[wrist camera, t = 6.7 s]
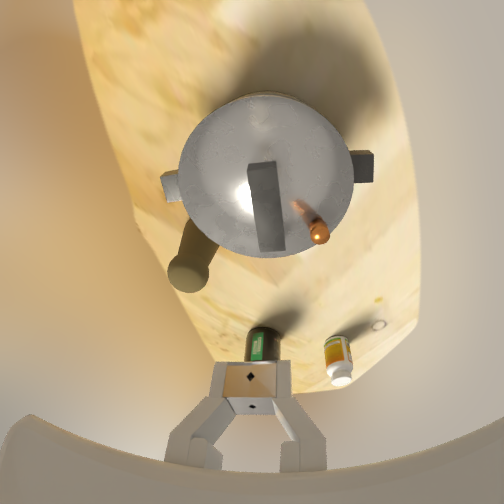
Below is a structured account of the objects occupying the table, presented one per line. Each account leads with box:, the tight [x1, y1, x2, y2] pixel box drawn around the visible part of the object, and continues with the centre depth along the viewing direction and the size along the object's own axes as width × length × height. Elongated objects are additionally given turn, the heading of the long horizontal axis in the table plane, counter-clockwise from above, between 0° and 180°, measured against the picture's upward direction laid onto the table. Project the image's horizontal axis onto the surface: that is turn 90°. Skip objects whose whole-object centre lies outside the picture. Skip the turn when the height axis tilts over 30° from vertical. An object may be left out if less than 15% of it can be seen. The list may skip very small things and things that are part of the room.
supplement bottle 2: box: [324, 336, 353, 386], centre depth 51 cm, size 5×5×10 cm
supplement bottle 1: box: [244, 327, 280, 362], centre depth 50 cm, size 7×7×12 cm
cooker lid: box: [178, 95, 354, 258], centre depth 24 cm, size 16×16×4 cm
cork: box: [167, 219, 220, 293], centre depth 37 cm, size 6×6×11 cm
